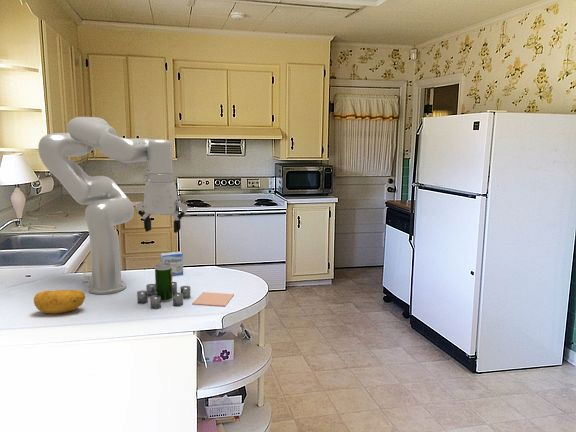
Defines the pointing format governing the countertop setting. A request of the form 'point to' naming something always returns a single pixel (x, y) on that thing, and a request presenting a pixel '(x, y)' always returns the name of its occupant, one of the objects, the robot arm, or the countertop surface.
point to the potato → (58, 301)
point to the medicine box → (173, 261)
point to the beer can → (164, 281)
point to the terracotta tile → (213, 299)
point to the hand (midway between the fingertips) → (162, 231)
